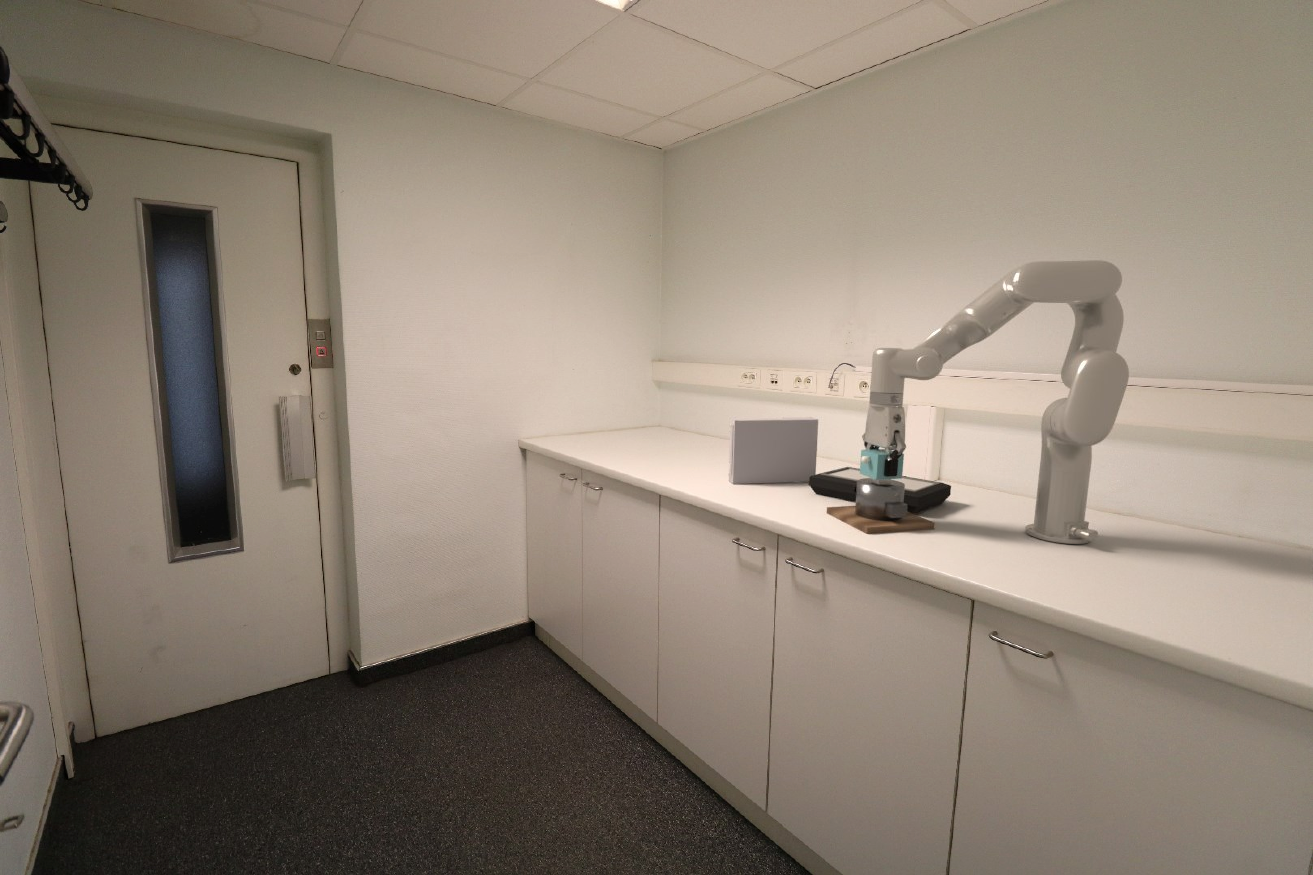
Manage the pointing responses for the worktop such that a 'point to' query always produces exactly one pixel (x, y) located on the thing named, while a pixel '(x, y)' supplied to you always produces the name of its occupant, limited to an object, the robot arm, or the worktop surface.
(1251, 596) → the worktop surface
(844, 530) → the worktop surface
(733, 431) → the upright gray panel box
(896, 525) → the mounting board
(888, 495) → the motor
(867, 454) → the block
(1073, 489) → the robot arm
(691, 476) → the worktop surface
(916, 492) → the electronic device
